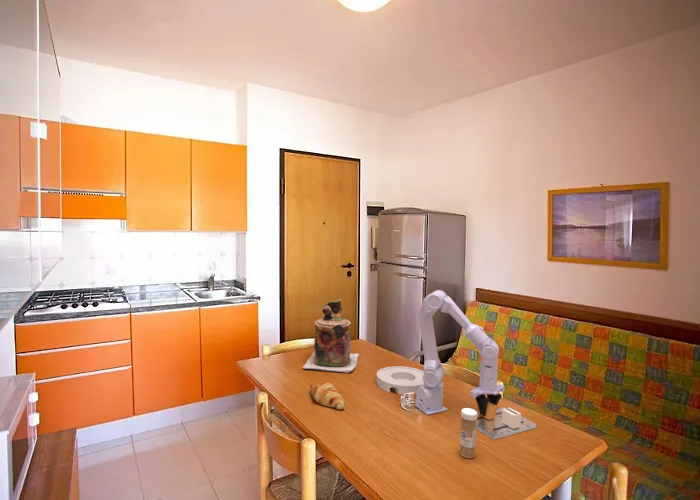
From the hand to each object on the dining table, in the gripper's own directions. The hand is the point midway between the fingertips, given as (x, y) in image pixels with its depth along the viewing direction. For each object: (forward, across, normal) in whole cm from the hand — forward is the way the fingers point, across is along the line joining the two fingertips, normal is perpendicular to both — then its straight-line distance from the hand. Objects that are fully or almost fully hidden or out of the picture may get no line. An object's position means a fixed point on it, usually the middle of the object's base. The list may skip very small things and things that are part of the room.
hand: (486, 413), depth 139 cm
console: (+2, +2, -4) cm, 5 cm away
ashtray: (+3, -9, +39) cm, 40 cm away
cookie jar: (+2, -28, +74) cm, 79 cm away
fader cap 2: (+1, +3, -8) cm, 9 cm away
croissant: (+3, -47, +36) cm, 59 cm away
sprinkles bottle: (+2, -22, -14) cm, 26 cm away
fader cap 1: (+1, 0, 0) cm, 1 cm away
